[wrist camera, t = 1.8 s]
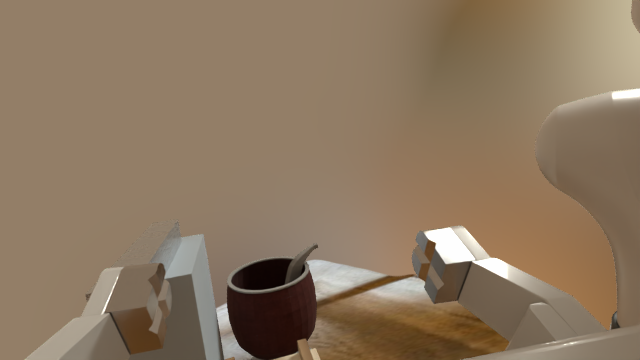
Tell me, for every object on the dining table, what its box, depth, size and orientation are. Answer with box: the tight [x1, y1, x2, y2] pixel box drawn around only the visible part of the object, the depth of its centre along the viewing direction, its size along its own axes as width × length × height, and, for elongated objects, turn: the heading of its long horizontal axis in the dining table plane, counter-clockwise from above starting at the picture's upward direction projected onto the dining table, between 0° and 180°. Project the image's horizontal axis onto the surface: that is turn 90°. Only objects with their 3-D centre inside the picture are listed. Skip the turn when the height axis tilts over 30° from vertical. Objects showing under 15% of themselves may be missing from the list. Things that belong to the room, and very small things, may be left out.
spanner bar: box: [86, 219, 182, 302], centre depth 33 cm, size 3×20×3 cm, turn 15°
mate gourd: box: [227, 243, 318, 360], centre depth 54 cm, size 16×14×20 cm
